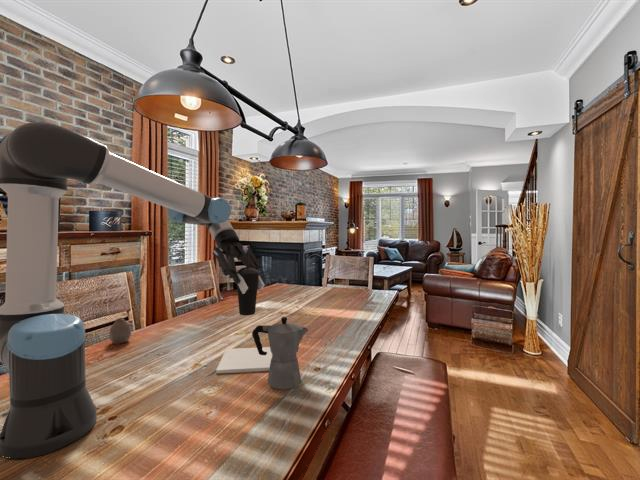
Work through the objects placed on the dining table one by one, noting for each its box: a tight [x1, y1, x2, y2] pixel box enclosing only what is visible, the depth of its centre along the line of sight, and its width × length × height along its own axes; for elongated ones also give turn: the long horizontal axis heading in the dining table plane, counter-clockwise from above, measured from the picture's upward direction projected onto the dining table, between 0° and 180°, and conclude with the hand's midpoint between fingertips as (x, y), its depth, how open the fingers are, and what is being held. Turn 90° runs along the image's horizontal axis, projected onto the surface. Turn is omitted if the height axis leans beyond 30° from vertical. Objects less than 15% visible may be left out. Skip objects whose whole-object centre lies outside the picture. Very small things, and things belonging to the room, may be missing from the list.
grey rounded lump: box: [108, 317, 132, 345], centre depth 114 cm, size 7×7×9 cm
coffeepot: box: [251, 316, 309, 391], centre depth 84 cm, size 15×9×18 cm, turn 89°
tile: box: [215, 346, 272, 374], centre depth 98 cm, size 16×16×1 cm
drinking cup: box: [236, 251, 261, 316], centre depth 98 cm, size 8×8×20 cm
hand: (253, 289), depth 95 cm, fingers closed on drinking cup, 6 cm apart
